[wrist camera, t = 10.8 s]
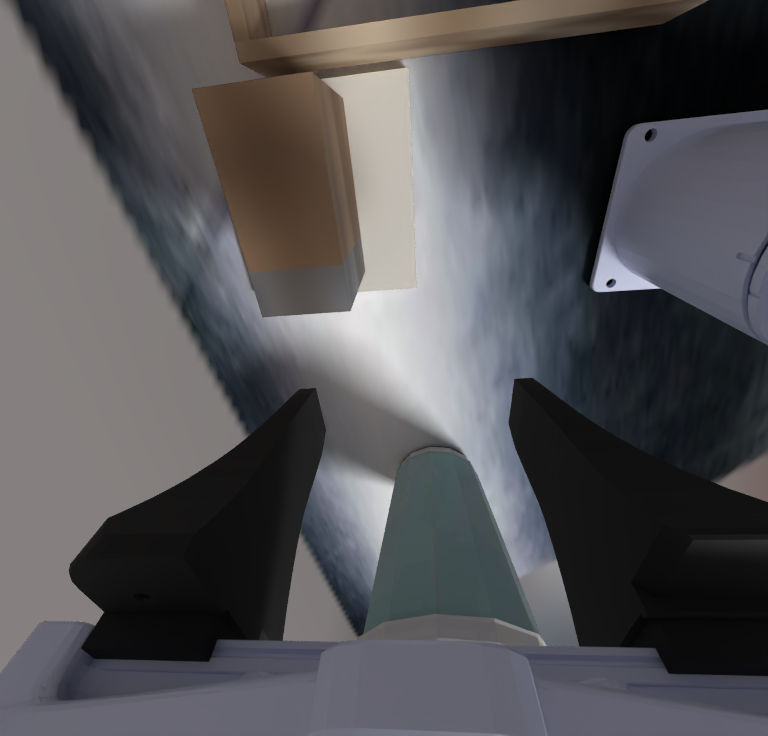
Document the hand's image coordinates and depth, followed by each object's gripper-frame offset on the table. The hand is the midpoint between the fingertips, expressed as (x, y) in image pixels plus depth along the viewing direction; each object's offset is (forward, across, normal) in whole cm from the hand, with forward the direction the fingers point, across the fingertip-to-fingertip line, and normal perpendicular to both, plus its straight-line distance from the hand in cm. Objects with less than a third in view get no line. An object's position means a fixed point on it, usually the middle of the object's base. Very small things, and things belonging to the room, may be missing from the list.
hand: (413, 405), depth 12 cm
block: (+10, +4, -6) cm, 13 cm away
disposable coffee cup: (+11, -2, +16) cm, 19 cm away
